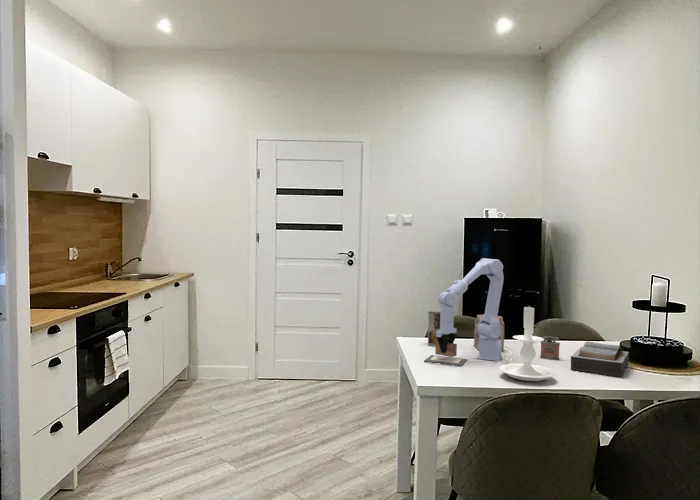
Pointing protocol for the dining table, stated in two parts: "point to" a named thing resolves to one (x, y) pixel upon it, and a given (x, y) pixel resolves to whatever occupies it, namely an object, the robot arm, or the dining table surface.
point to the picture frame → (446, 360)
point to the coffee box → (433, 327)
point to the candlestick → (527, 354)
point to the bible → (600, 360)
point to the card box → (450, 350)
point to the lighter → (550, 348)
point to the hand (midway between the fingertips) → (446, 351)
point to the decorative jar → (476, 335)
